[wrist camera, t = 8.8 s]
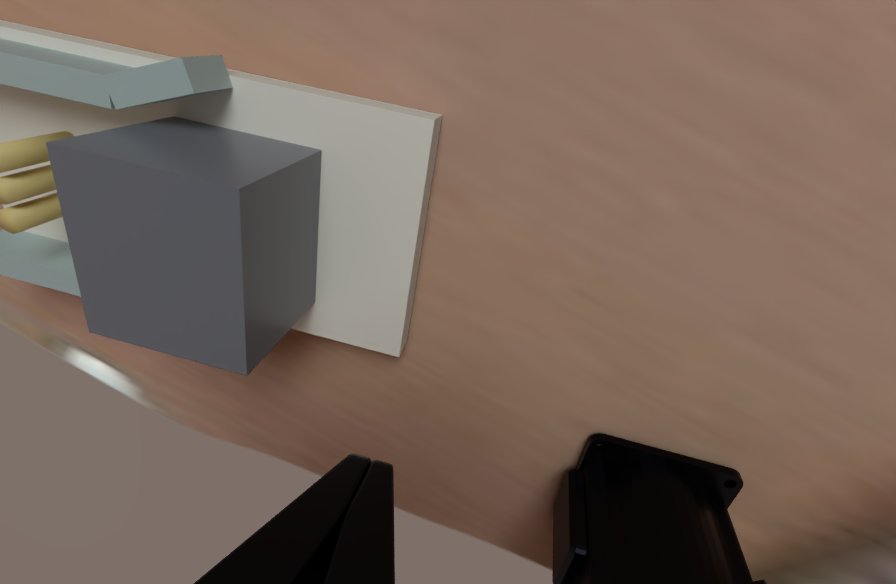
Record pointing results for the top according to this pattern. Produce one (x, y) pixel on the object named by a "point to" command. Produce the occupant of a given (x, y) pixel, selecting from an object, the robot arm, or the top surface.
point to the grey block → (191, 236)
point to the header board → (238, 108)
